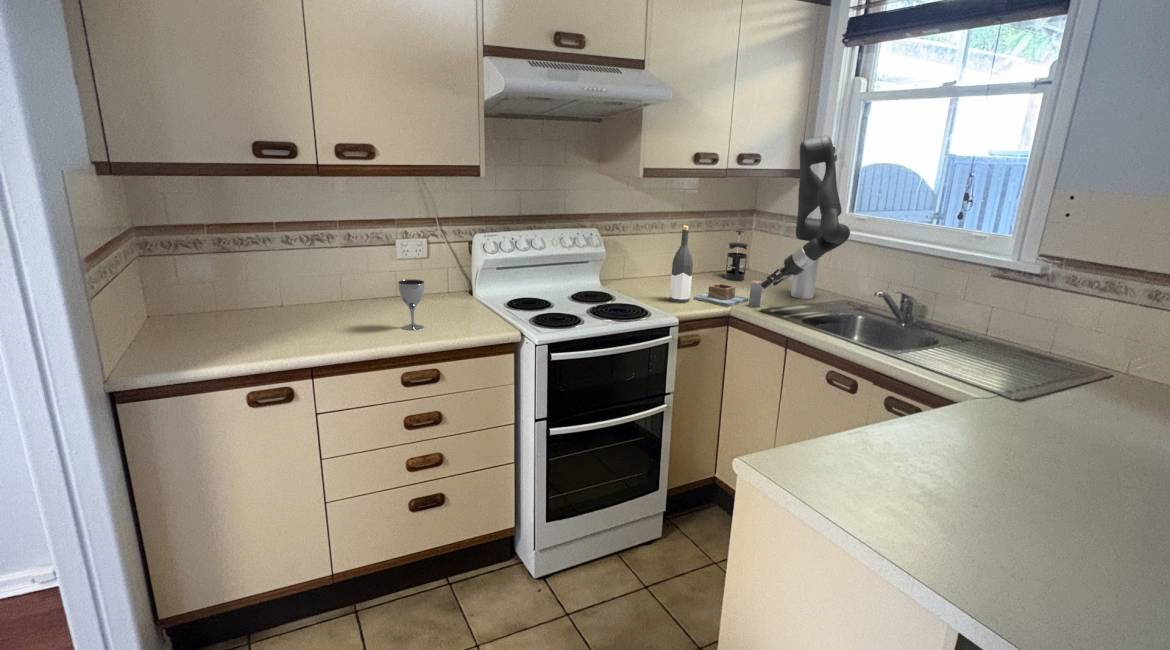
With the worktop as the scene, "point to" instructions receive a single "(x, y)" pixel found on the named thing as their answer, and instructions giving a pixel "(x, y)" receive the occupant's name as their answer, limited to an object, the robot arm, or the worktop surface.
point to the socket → (721, 295)
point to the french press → (736, 262)
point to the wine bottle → (681, 271)
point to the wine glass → (411, 298)
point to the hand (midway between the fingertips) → (767, 285)
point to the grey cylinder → (755, 293)
